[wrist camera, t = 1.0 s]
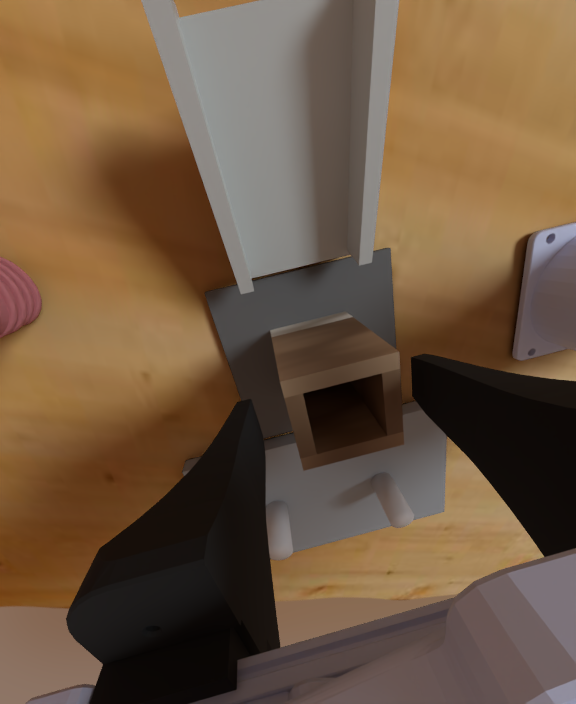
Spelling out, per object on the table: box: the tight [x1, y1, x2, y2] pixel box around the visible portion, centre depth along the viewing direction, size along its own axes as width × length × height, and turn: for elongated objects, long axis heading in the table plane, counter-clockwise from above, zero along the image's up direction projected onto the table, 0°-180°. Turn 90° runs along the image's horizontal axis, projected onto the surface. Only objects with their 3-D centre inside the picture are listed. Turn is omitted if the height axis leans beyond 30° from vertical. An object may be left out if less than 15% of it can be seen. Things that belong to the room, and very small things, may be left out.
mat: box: [205, 248, 396, 438], centre depth 16 cm, size 10×10×1 cm
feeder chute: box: [141, 0, 399, 294], centre depth 10 cm, size 6×8×6 cm
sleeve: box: [270, 312, 404, 471], centre depth 13 cm, size 4×4×6 cm
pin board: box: [182, 401, 447, 560], centre depth 19 cm, size 18×11×4 cm, turn 103°
